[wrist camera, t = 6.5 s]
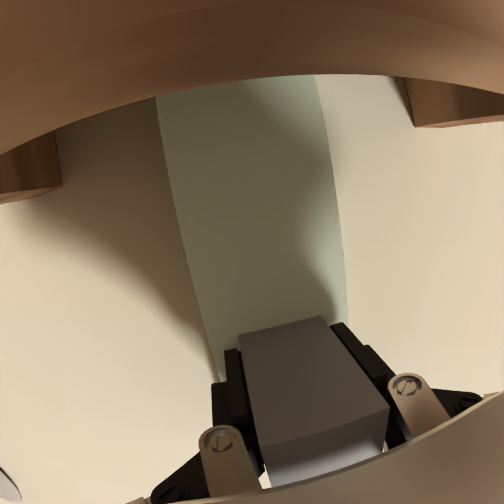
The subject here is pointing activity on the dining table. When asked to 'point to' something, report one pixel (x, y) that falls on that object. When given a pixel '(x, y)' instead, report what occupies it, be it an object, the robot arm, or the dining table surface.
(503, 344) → the dining table surface
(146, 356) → the dining table surface
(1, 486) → the chalice
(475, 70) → the bench
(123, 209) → the dining table surface
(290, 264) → the sage green plank
